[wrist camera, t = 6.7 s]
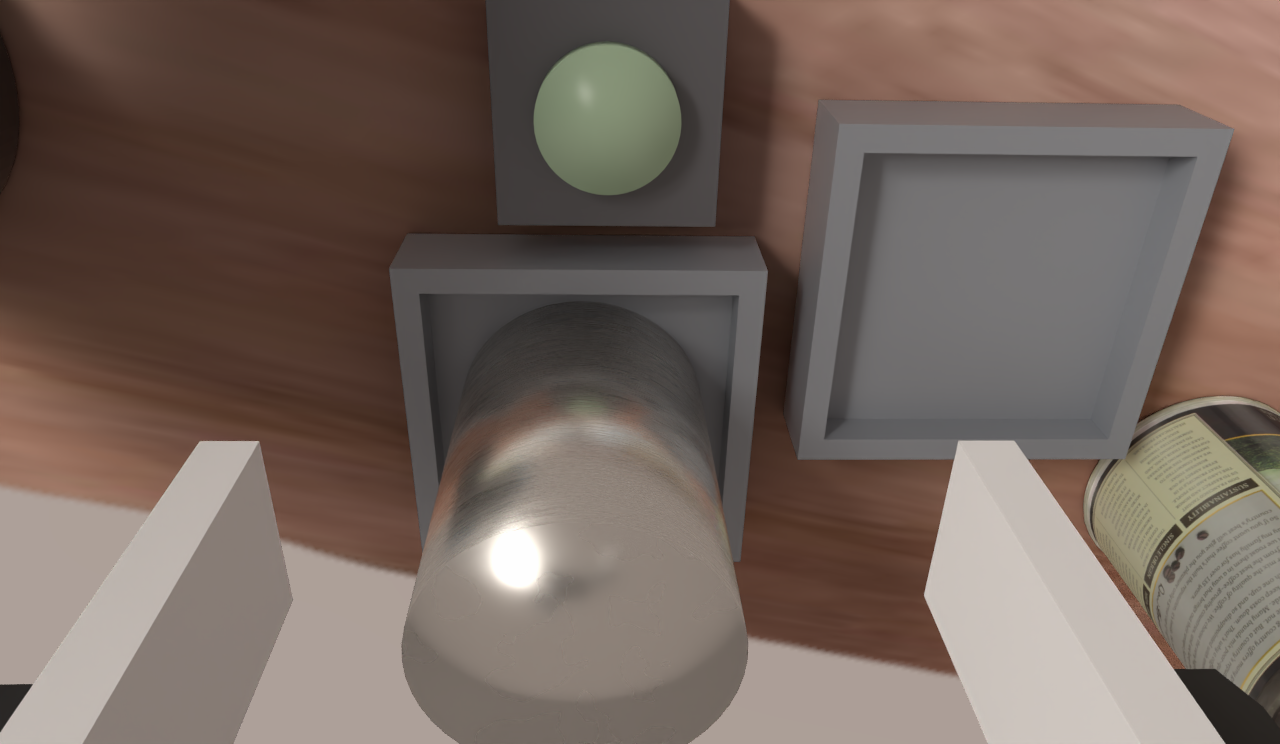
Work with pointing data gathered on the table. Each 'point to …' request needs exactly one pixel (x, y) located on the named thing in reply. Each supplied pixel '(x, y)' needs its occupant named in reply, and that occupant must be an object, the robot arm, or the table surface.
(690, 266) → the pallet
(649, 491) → the steel tin
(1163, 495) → the coffee can
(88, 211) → the table surface
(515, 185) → the button
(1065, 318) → the tray
